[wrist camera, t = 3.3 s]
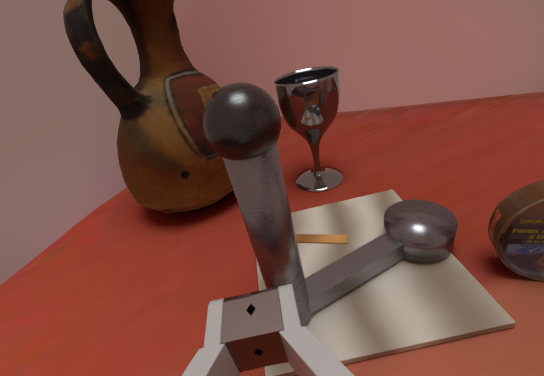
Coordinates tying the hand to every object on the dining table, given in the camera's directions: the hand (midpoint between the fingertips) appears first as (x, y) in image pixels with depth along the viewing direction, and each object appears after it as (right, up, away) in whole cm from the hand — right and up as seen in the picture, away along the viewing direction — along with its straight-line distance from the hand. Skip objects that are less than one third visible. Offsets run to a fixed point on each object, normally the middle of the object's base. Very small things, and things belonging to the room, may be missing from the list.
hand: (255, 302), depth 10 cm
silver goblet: (+8, +5, +32) cm, 33 cm away
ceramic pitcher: (-11, +4, +36) cm, 38 cm away
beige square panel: (+8, -3, +17) cm, 19 cm away
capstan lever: (+9, -3, +15) cm, 18 cm away
